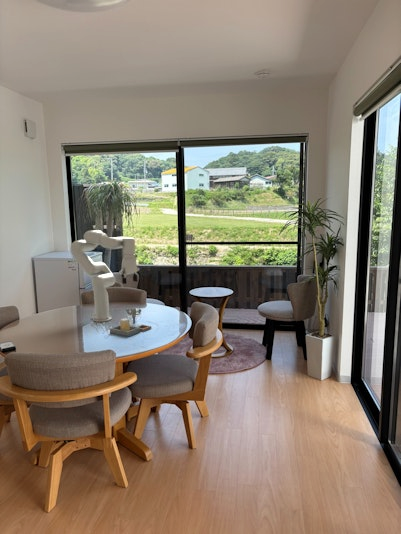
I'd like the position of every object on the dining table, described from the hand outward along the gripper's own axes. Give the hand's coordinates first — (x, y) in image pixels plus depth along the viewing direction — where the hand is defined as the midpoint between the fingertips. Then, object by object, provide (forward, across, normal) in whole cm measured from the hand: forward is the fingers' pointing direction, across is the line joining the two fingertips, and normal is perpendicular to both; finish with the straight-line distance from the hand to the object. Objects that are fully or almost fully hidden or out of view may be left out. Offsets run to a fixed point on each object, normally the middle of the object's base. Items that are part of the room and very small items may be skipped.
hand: (129, 282), depth 265 cm
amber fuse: (+28, +15, +11) cm, 33 cm away
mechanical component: (+28, -2, +1) cm, 29 cm away
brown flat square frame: (+28, +4, +15) cm, 32 cm away
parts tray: (+28, +15, +11) cm, 34 cm away
